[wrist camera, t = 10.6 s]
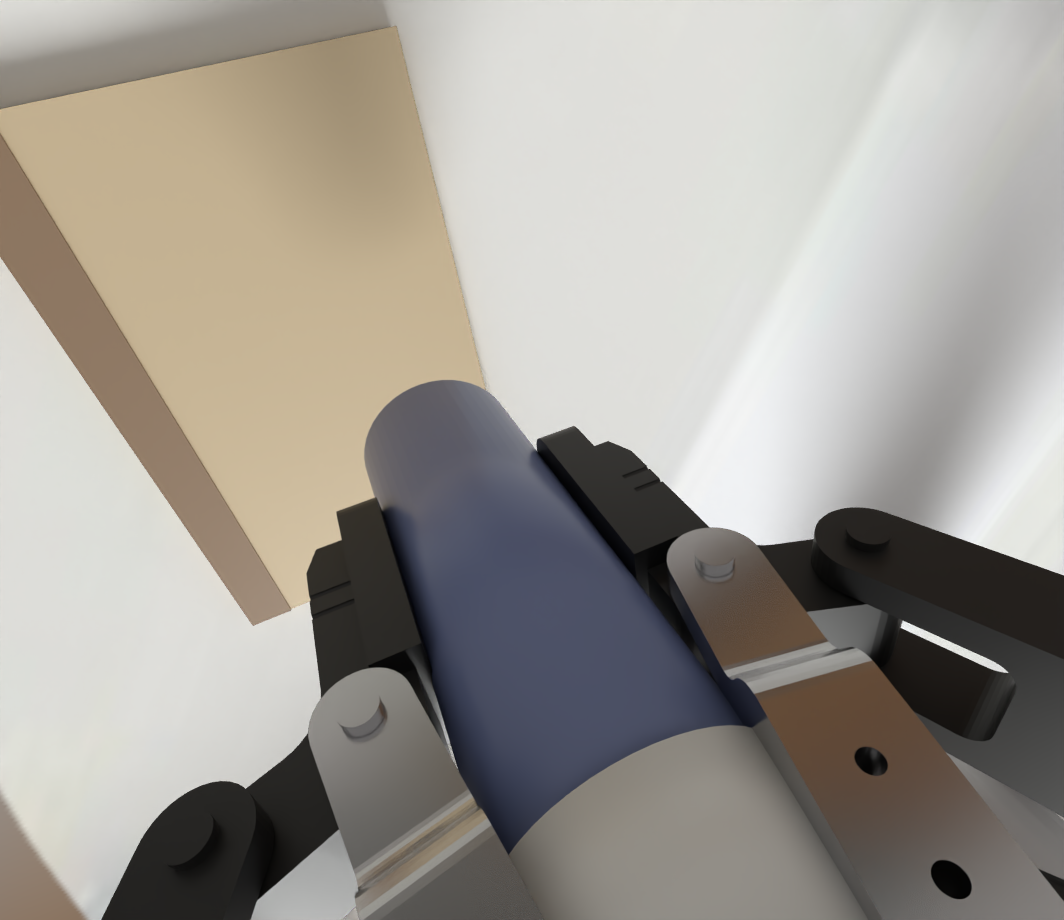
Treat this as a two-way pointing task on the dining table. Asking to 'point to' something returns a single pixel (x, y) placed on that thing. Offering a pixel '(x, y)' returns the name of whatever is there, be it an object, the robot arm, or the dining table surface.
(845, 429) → the dining table surface
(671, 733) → the marker
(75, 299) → the notepad
